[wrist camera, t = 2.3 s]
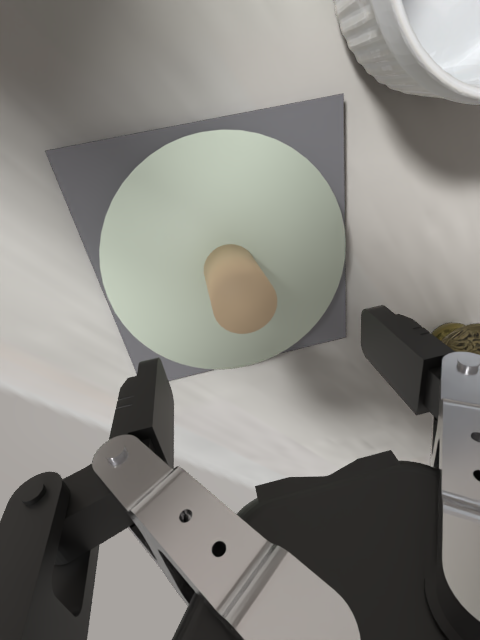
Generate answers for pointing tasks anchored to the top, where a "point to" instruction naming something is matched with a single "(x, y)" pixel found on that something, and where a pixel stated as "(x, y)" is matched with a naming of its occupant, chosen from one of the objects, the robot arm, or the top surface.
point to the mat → (130, 150)
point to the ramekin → (417, 44)
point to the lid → (222, 249)
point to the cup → (460, 336)
